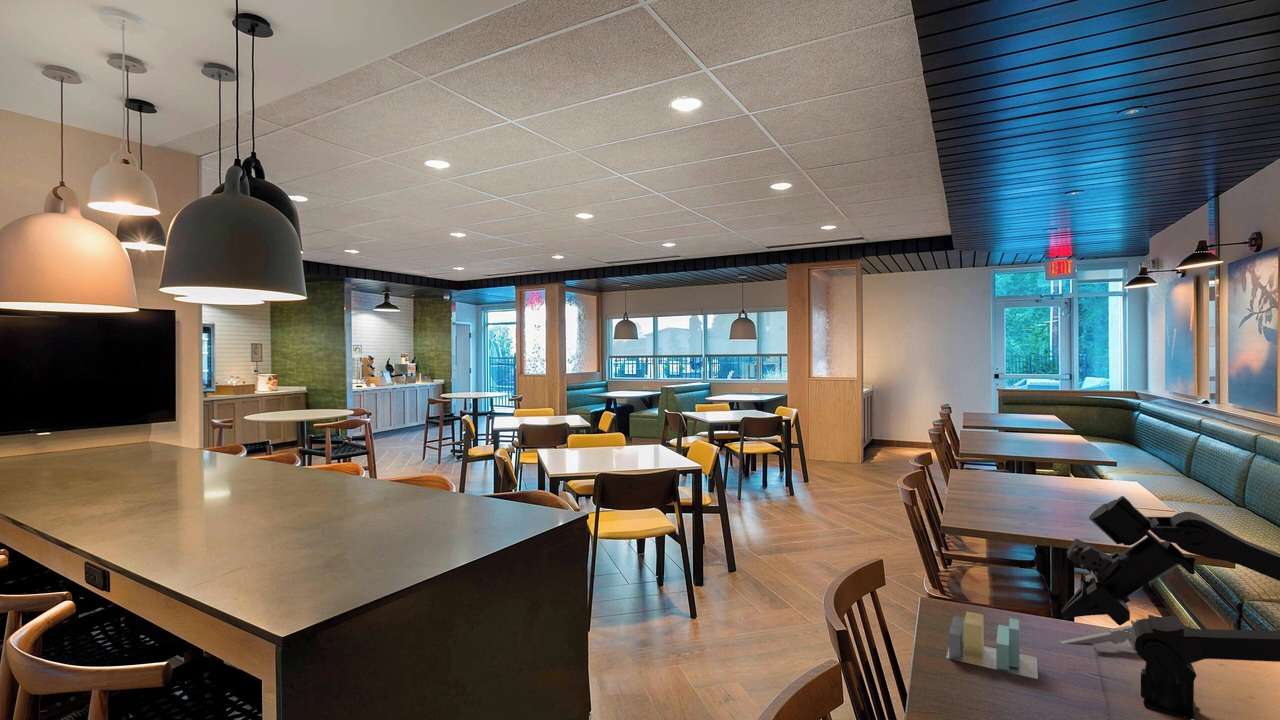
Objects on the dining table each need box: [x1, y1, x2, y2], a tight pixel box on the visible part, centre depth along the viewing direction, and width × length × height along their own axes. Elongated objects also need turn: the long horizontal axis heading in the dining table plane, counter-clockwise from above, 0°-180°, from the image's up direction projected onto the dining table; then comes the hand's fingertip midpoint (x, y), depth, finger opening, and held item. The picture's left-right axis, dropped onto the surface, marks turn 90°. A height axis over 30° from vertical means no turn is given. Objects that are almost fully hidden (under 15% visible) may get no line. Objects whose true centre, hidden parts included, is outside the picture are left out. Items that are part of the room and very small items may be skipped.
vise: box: [945, 615, 1039, 680], centre depth 119 cm, size 15×9×6 cm, turn 57°
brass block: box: [964, 611, 985, 662], centre depth 120 cm, size 3×6×7 cm, turn 147°
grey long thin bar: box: [1059, 618, 1140, 650], centre depth 124 cm, size 20×1×6 cm, turn 90°
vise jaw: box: [995, 617, 1020, 671], centre depth 117 cm, size 4×9×7 cm, turn 147°
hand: (1063, 614), depth 112 cm, fingers closed
